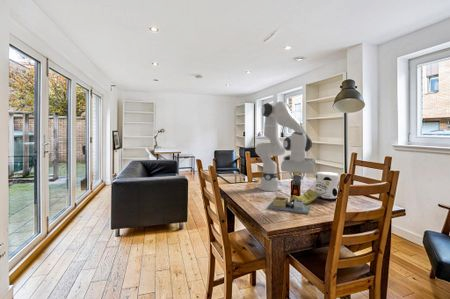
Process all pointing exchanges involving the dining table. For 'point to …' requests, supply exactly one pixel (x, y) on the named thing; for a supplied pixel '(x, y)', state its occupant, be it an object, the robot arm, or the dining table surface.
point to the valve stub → (297, 178)
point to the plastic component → (305, 197)
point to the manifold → (289, 205)
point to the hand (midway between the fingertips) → (297, 179)
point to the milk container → (326, 185)
